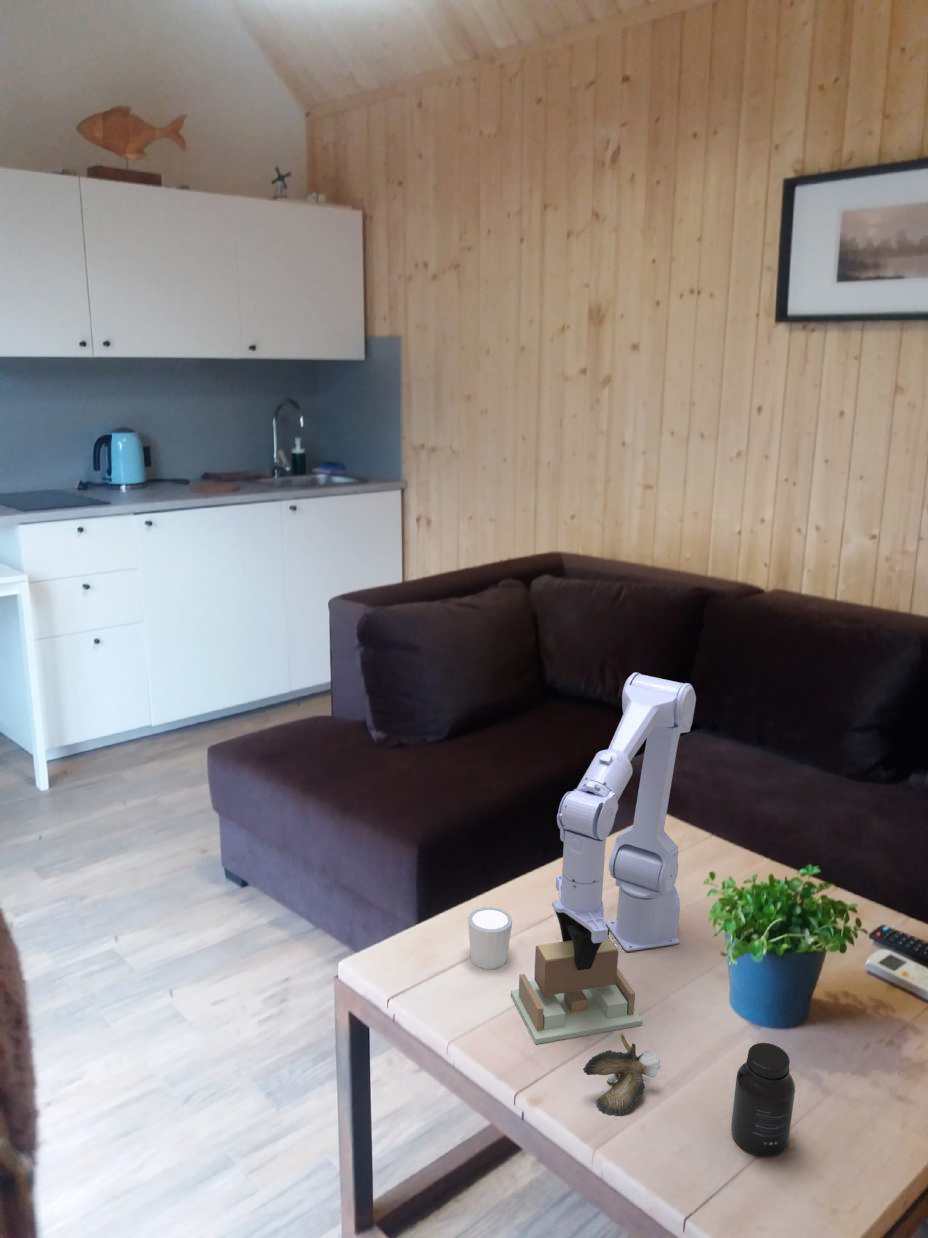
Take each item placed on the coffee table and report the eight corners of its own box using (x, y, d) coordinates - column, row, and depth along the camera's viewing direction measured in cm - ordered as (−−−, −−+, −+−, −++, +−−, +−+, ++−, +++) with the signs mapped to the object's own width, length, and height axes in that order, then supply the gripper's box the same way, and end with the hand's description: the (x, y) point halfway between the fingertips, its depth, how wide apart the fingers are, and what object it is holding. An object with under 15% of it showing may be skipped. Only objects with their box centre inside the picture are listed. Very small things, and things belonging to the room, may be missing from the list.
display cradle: (610, 978, 153) (612, 953, 152) (642, 1025, 143) (644, 999, 142) (510, 995, 149) (511, 969, 147) (535, 1044, 139) (536, 1017, 137)
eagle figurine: (603, 1049, 136) (569, 1075, 129) (636, 1020, 133) (602, 1045, 126) (640, 1099, 133) (607, 1129, 126) (675, 1071, 130) (642, 1099, 123)
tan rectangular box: (605, 968, 148) (607, 934, 146) (616, 984, 144) (618, 949, 143) (534, 979, 145) (535, 944, 143) (543, 996, 141) (545, 961, 140)
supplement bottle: (722, 1117, 126) (731, 1036, 123) (775, 1115, 127) (785, 1034, 124) (741, 1161, 120) (751, 1077, 116) (797, 1158, 120) (808, 1074, 117)
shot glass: (511, 947, 160) (513, 908, 158) (509, 973, 154) (511, 933, 152) (469, 943, 161) (470, 905, 159) (464, 969, 154) (465, 930, 152)
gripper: (538, 851, 145) (534, 933, 149) (575, 905, 132) (569, 994, 136) (583, 846, 147) (578, 927, 151) (624, 898, 134) (618, 986, 138)
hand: (577, 958), depth 144 cm, fingers closed on tan rectangular box, 4 cm apart
